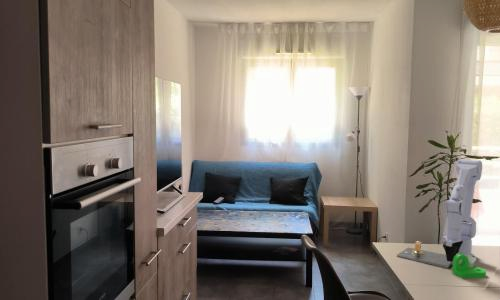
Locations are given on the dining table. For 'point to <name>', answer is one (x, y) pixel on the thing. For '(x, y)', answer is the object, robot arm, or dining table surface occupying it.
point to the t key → (418, 246)
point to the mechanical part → (466, 268)
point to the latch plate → (425, 257)
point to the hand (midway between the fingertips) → (452, 259)
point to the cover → (470, 260)
